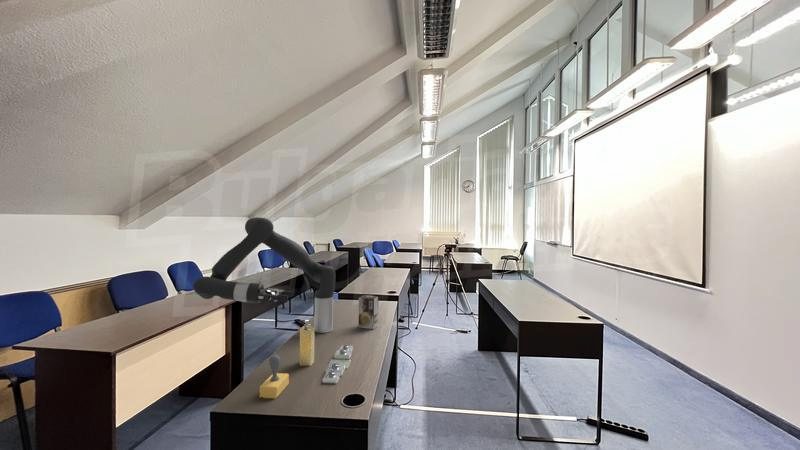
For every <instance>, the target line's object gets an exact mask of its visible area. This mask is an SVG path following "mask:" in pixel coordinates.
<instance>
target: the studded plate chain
mask: <svg viewBox="0 0 800 450" xmlns="http://www.w3.org/2000/svg"><path fill="white" fill-rule="evenodd" d="M353 350H354V345H347V344H346V345H345V344H344V345H341V346H340V347H339V349H337V350H336V351H335V353H334V356H333V357H334V358H333V359H332V358H331V360H329V361H330V362H329V363H328V365H327V367H326V368H325V374H324V375H323V378H322V384H338V382H339V380H340V378H341V377H343V374H344V372H345V370H348V369H349V366H350V364H351V362H352V360H351V359H350V358H351V357H352V352H353Z"/></svg>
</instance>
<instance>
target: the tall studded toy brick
mask: <svg viewBox="0 0 800 450" xmlns="http://www.w3.org/2000/svg"><path fill="white" fill-rule="evenodd" d="M315 339H316V337H315V327H314V326H311V323H306V324H305V325H303V326H302V327H301V328H300V329H299V366H306V367H310V366H312V365H313V363H314V362H315Z"/></svg>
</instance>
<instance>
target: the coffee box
mask: <svg viewBox="0 0 800 450" xmlns="http://www.w3.org/2000/svg"><path fill="white" fill-rule="evenodd" d="M377 327H379V295H378V296H377V295H369V294H368V295H367V294H363V295H361V296H359V297H358V328H363V329H368V330H369V329H370V330H375V329H376V328H377Z"/></svg>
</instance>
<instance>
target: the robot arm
mask: <svg viewBox="0 0 800 450" xmlns="http://www.w3.org/2000/svg"><path fill="white" fill-rule="evenodd" d="M244 230H245V233H246V234H247V235H246V236H245V237H244V238H243V239H242V240H241V241H240V242H239V243H237V244H236V245H235V246H234V247H232V248H231V249H229V250H228V251H227V252H225V254H224V253H223V254H224V255H222V256H221V257H220V258H219V259H218V260H217V261H216V263H215V264H214V265H213V266H212V268H211V275H210V276H200V277H198V278H196V279H195V280H194V282H193V284H192V289H193V291H194V293H195V294H197V295H198V296H199V297H200V298H202V299H204V300H210V299H212V298H214V297H215V296H216V297H219V298H220V299H224V300H230V301H238V302H244V303H253V304H259V303H261V302H270V303H274V302H288V301H289V298H293V297H294V293H295V292H294V291H290V290H285V289H284V288H277V287H269V288H267V289H265V286H264V284H263V283H257V282H247V281H241V282H240V281H231V280H229V281H228V280H227V279H228V278H229V277H230V275H231V274H233V272H234V271H235V270H236V269H237V268H238V266H240V264H241V263H242V262H243V261H244V260H245V259H246V258H247V257H248V256H249V255H250V254H251V253H252V252H253V251H254V250H255V249H256V248H258V247H259V246H260V245H261V244H263V245H266V247H268V248H270V249H271V251H274V253H276V254H278V255H279V256H280V257H281V258H282V259H284V260H285V261H287V262H288V263H289V264H291V265H293V266H294V267H296V268H298V269H299V270H301V271H303V272H305V274H306V275H308V276H309V277H310V278H311V279H312V280H313V281H314V282H317V283H319V289H317V290H315V291H314V321H313V322H314V324H313V327H315V332H316V333H320V334H322V333H323V334H325V333H330V332H332V331H333V328H334V327H333V325H334V324H333V323H334V293H335V289H336V271H335V268H334V267H332V266H331V265H325V264H321V263H318V262H317V261H315V260H314V259H312V258H311V257H310V255H309V253H308V251H307V250H306V248H304V247H303V246H301V245H299V243H297V242H296V241H294V240H293V239H291V238H288V237H286V236H284V235H281V234H280V233H278V232H276V231H275V229H274V224H273V222H272V220H270V219H268V218H265V217H257V216H256V217H251V218H249V219H248V220H247V221H246V222H245V223H244Z"/></svg>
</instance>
